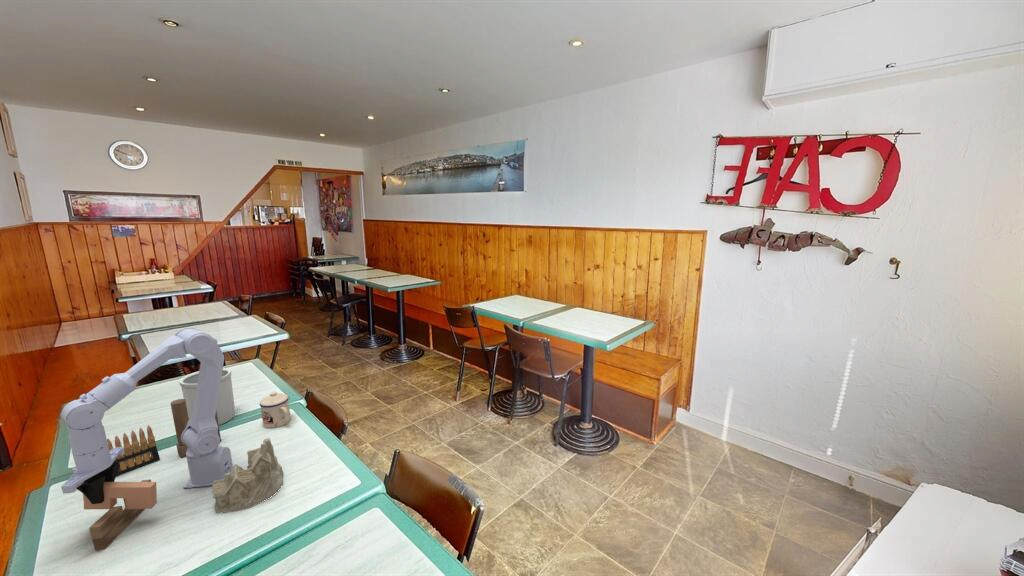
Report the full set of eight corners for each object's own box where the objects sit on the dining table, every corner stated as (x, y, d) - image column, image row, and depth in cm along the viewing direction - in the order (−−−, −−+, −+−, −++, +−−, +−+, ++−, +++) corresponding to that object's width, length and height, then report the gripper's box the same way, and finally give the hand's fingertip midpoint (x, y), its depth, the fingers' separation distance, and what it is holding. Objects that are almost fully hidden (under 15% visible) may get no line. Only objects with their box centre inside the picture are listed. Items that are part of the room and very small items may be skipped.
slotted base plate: (146, 500, 105) (142, 480, 104) (154, 499, 105) (150, 479, 104) (94, 550, 89) (89, 527, 88) (104, 548, 90) (99, 526, 88)
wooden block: (221, 441, 131) (213, 391, 128) (181, 458, 123) (171, 405, 119) (217, 438, 133) (209, 389, 130) (177, 454, 125) (167, 402, 121)
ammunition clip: (112, 478, 113) (103, 441, 111) (110, 476, 114) (102, 438, 112) (160, 460, 122) (153, 424, 119) (158, 457, 123) (151, 423, 120)
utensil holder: (198, 412, 150) (190, 370, 147) (243, 407, 154) (236, 365, 151) (179, 433, 136) (170, 386, 133) (228, 426, 141) (221, 380, 137)
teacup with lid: (257, 424, 142) (253, 394, 139) (282, 413, 149) (278, 385, 147) (275, 433, 136) (271, 402, 133) (301, 421, 143) (297, 392, 141)
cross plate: (156, 503, 98) (156, 481, 97) (151, 508, 97) (150, 487, 95) (91, 503, 96) (90, 481, 95) (84, 509, 94) (82, 487, 93)
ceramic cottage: (287, 464, 119) (278, 421, 115) (279, 502, 104) (268, 454, 101) (227, 480, 114) (215, 435, 110) (209, 523, 99) (194, 473, 95)
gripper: (97, 433, 99) (108, 480, 101) (39, 470, 85) (54, 524, 87) (129, 430, 100) (139, 477, 103) (77, 466, 86) (91, 519, 89)
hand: (102, 498), depth 95 cm, fingers closed on cross plate, 2 cm apart
